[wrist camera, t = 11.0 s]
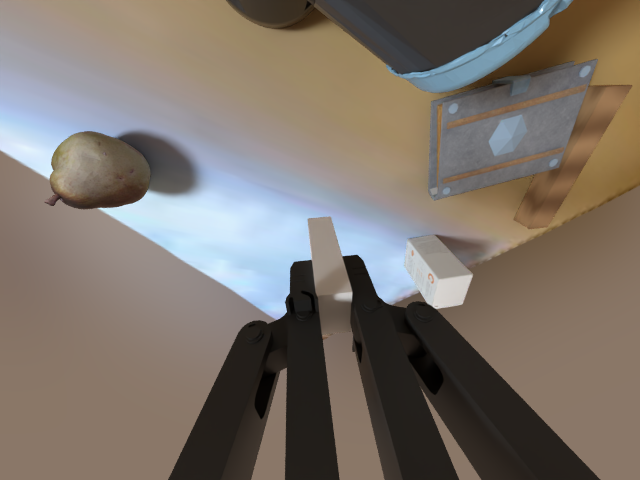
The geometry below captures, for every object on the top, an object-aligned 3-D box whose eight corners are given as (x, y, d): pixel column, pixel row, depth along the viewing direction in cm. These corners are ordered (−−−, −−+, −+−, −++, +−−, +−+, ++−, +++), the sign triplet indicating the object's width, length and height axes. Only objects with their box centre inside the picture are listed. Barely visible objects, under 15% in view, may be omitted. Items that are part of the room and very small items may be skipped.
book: (426, 194, 45) (440, 205, 41) (429, 98, 35) (447, 99, 31) (536, 165, 44) (561, 174, 39) (568, 58, 34) (606, 54, 30)
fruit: (81, 168, 36) (-1, 200, 26) (90, 111, 32) (-2, 123, 22) (153, 200, 40) (106, 239, 30) (169, 153, 36) (121, 179, 26)
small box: (429, 261, 54) (463, 305, 44) (403, 266, 54) (430, 310, 43) (435, 233, 50) (474, 274, 39) (406, 237, 50) (438, 280, 39)
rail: (578, 86, 36) (607, 86, 33) (601, 85, 36) (632, 84, 33) (513, 219, 50) (529, 229, 46) (530, 217, 50) (547, 227, 47)
